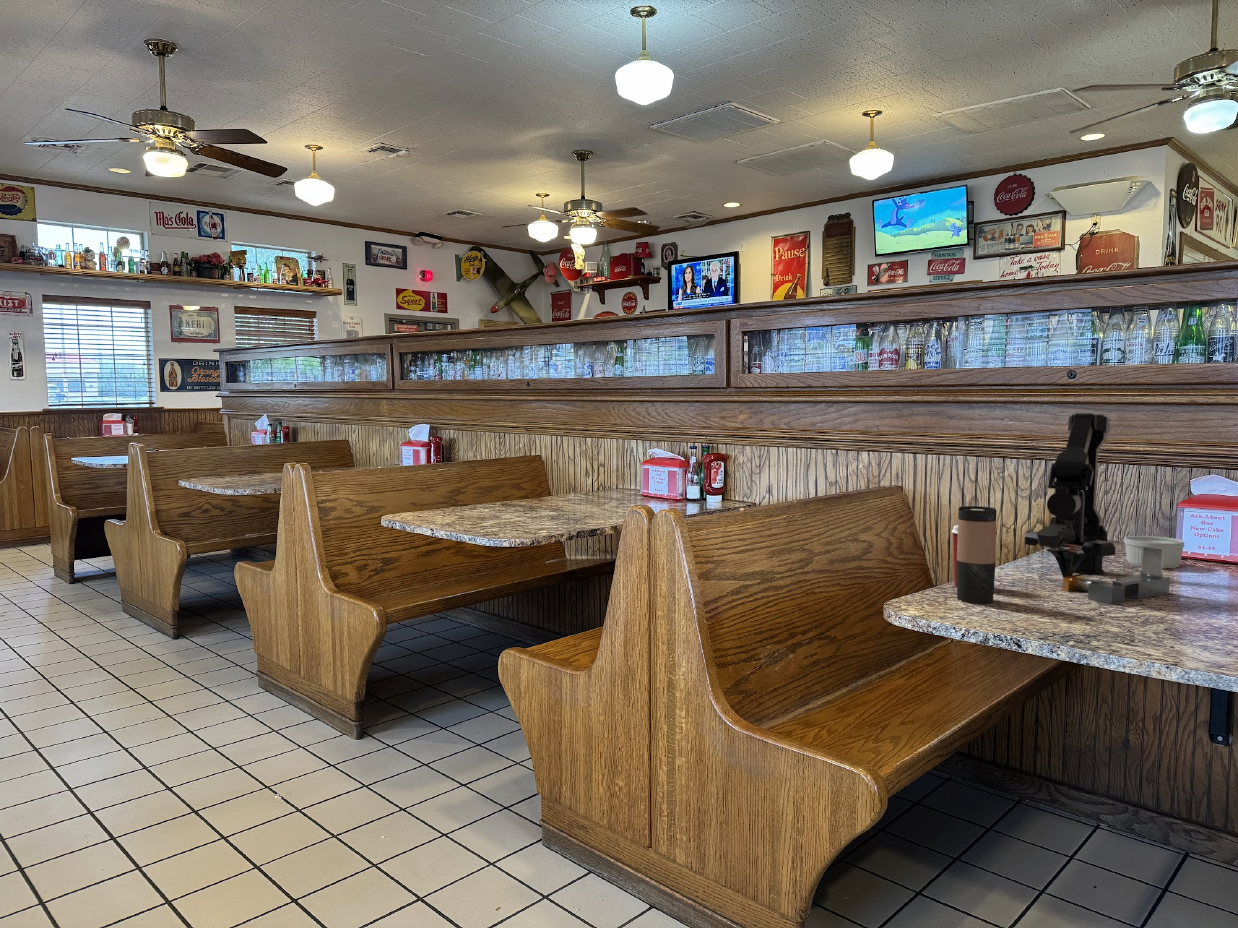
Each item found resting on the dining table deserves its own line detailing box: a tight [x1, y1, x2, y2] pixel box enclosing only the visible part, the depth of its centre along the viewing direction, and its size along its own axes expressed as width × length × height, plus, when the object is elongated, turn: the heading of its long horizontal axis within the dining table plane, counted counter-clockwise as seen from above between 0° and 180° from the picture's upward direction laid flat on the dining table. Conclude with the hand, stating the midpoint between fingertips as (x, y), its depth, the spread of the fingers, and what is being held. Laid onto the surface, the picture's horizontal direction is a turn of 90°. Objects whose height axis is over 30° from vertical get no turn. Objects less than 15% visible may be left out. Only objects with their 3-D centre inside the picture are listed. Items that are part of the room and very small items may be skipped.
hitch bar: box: [1087, 574, 1171, 605], centre depth 177 cm, size 5×21×4 cm, turn 117°
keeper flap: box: [1139, 547, 1164, 578], centre depth 181 cm, size 4×1×6 cm, turn 27°
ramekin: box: [1123, 535, 1185, 570], centre depth 213 cm, size 13×13×7 cm
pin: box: [1062, 573, 1099, 592], centre depth 181 cm, size 10×7×3 cm
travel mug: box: [956, 505, 997, 605], centre depth 174 cm, size 8×8×20 cm
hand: (1066, 580), depth 186 cm, fingers closed
